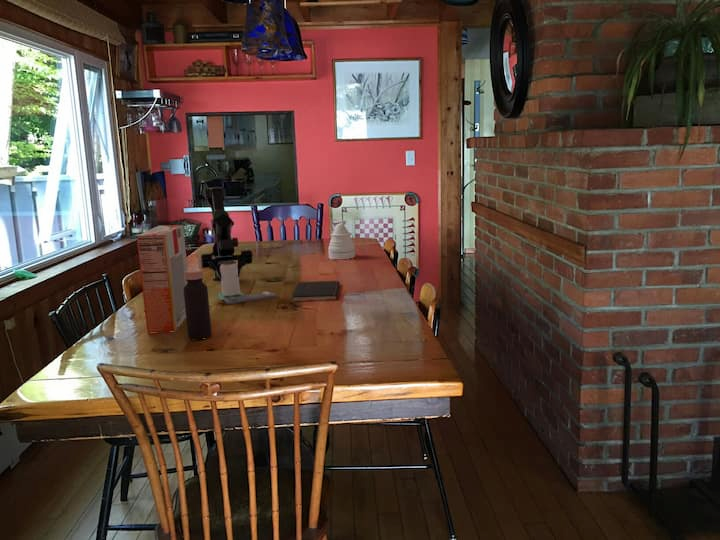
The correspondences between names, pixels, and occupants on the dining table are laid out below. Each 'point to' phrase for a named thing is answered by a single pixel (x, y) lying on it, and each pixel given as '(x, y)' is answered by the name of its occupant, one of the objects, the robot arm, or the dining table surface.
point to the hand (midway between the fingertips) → (229, 277)
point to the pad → (222, 297)
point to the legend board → (249, 297)
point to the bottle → (197, 305)
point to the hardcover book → (316, 290)
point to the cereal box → (163, 276)
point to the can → (229, 279)
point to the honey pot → (341, 243)
